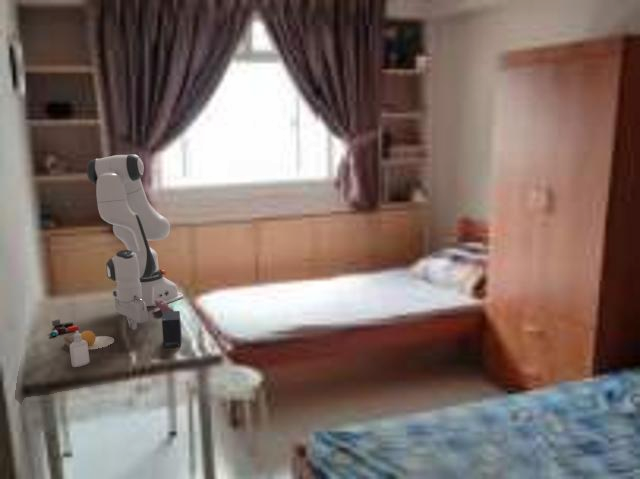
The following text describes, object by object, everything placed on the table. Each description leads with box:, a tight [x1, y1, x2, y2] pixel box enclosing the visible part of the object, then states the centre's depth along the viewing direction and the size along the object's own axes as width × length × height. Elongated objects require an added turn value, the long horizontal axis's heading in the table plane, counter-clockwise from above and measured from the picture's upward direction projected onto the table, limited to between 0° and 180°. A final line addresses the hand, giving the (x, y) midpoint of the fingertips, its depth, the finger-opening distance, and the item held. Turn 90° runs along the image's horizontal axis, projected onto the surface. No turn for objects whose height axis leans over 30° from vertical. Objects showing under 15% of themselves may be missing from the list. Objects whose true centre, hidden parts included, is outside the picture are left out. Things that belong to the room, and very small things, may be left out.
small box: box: [161, 310, 182, 349], centre depth 228 cm, size 11×6×10 cm, turn 12°
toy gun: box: [49, 318, 80, 338], centre depth 244 cm, size 10×12×5 cm
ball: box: [80, 330, 97, 346], centre depth 228 cm, size 6×6×6 cm
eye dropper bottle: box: [69, 329, 90, 368], centre depth 210 cm, size 4×6×12 cm
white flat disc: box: [88, 335, 115, 351], centre depth 231 cm, size 13×13×1 cm
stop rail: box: [63, 334, 74, 348], centre depth 226 cm, size 2×14×3 cm, turn 42°
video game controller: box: [154, 299, 174, 313], centre depth 264 cm, size 10×5×7 cm, turn 28°
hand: (133, 328), depth 240 cm, fingers closed
